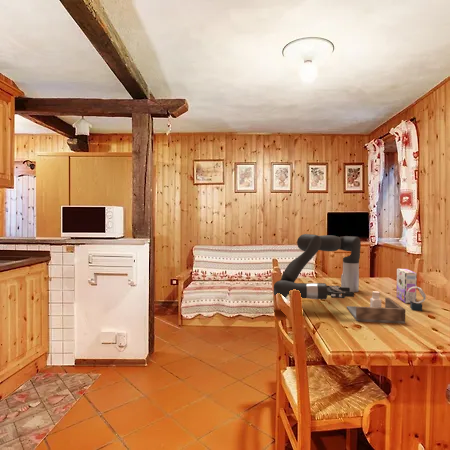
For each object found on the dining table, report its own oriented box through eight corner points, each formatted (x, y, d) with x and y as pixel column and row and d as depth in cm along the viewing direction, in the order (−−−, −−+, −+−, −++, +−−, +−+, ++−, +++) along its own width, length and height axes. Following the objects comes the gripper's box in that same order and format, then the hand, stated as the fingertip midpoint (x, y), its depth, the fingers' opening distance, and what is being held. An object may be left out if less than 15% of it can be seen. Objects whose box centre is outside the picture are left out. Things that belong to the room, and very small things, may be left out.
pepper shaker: (369, 310, 150) (370, 290, 150) (378, 311, 150) (378, 290, 149) (372, 313, 146) (372, 292, 146) (381, 313, 146) (382, 293, 145)
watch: (426, 311, 153) (427, 288, 153) (407, 309, 156) (408, 287, 156) (424, 308, 158) (425, 286, 158) (406, 306, 161) (406, 285, 161)
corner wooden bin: (356, 321, 139) (357, 307, 139) (346, 308, 159) (346, 296, 158) (405, 323, 136) (405, 309, 136) (388, 309, 156) (388, 297, 155)
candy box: (416, 304, 166) (417, 272, 165) (404, 303, 167) (405, 272, 167) (407, 297, 179) (407, 268, 179) (395, 296, 181) (396, 268, 180)
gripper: (318, 286, 145) (355, 287, 142) (314, 280, 159) (348, 280, 156) (318, 303, 145) (355, 304, 143) (314, 294, 159) (348, 296, 157)
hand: (351, 292), depth 149 cm, fingers open, 8 cm apart
